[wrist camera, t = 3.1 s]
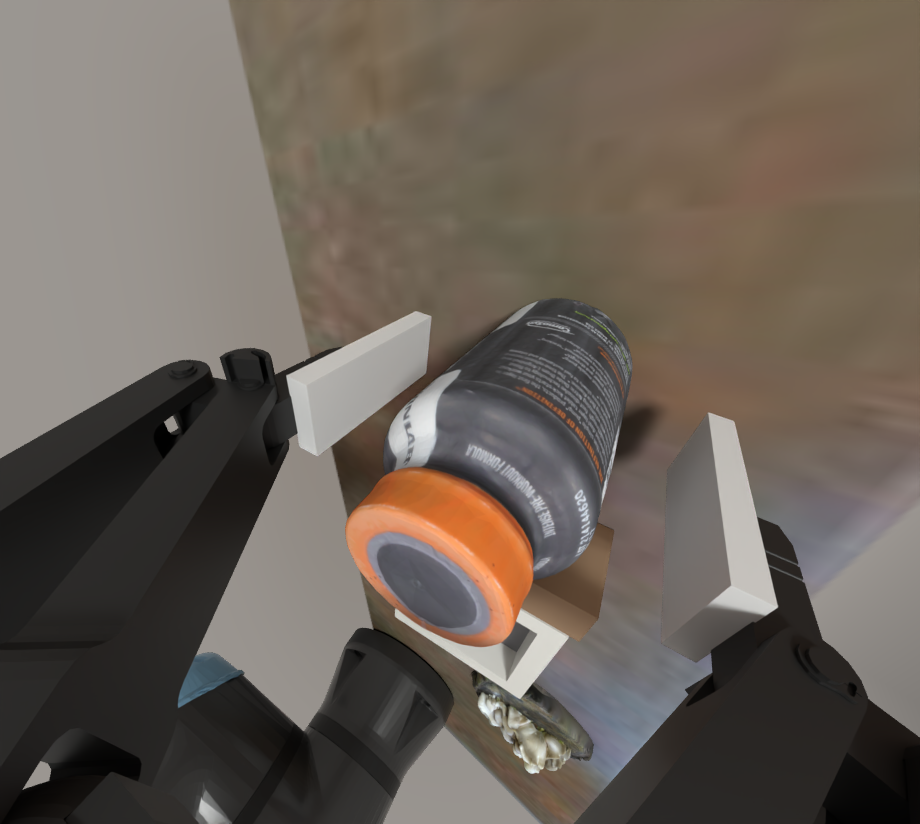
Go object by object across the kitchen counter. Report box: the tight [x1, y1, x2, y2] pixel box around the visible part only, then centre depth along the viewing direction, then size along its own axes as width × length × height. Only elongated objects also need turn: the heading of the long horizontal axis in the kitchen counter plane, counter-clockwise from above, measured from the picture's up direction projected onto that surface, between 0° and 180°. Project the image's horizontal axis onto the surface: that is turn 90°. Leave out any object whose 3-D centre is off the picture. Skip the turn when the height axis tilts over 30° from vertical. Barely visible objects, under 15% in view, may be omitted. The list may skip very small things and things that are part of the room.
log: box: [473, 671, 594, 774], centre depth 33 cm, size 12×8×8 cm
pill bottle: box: [345, 299, 632, 647], centre depth 11 cm, size 6×6×11 cm
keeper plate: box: [395, 608, 569, 699], centre depth 27 cm, size 12×12×2 cm
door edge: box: [521, 523, 614, 642], centre depth 19 cm, size 2×11×5 cm, turn 81°
